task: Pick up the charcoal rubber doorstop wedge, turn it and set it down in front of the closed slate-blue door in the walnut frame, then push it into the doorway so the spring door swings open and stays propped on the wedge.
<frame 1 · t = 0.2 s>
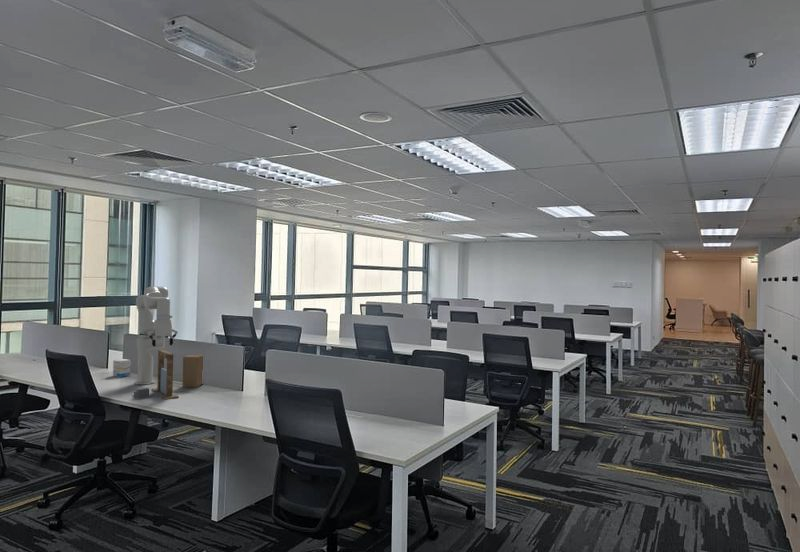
hand: (162, 345, 330), 30 cm above the table, tool pointing down, fingers open, 9 cm apart
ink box: (121, 376, 389), on the table
door frame: (164, 393, 334), on the table
door leaf: (166, 381, 334), point 8 cm above the table, hinge at 0.0°
wooden block: (193, 386, 360), on the table
wedge: (141, 396, 327), on the table
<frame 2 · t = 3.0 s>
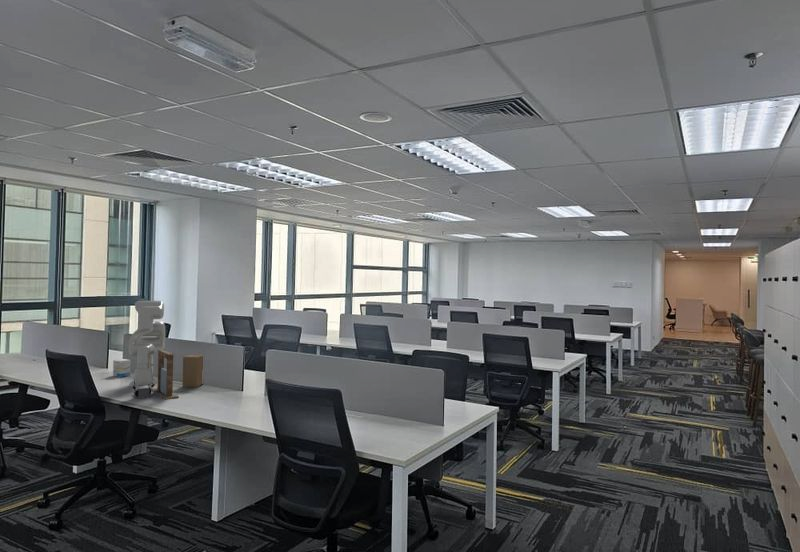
hand: (143, 395, 323), 1 cm above the table, tool pointing down, fingers closed on wedge, 6 cm apart
wedge: (141, 396, 327), on the table, touching gripper
everything else where it was.
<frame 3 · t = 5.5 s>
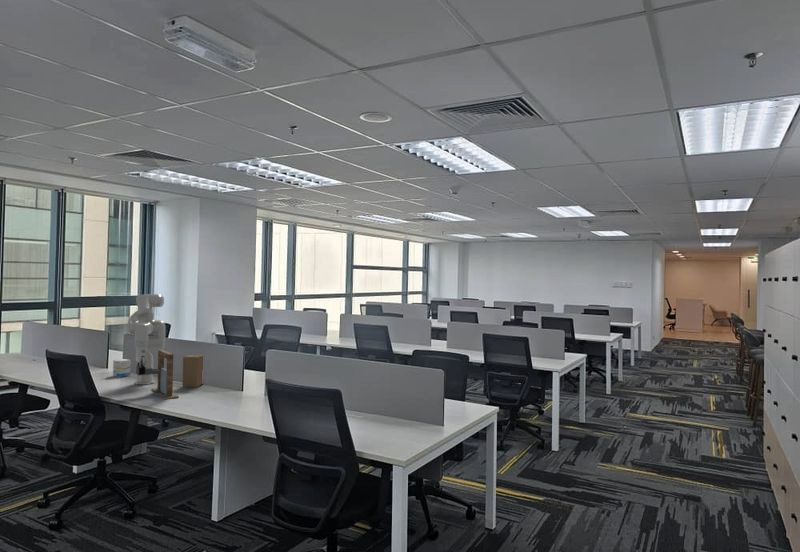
hand: (140, 372, 330), 13 cm above the table, tool pointing down, fingers closed on wedge, 6 cm apart
wedge: (147, 373, 332), point 13 cm above the table, touching gripper
everything else where it was.
when the fingers open (2 cm above the table, at t = 7.9 s): wedge drops 1 cm, on the table.
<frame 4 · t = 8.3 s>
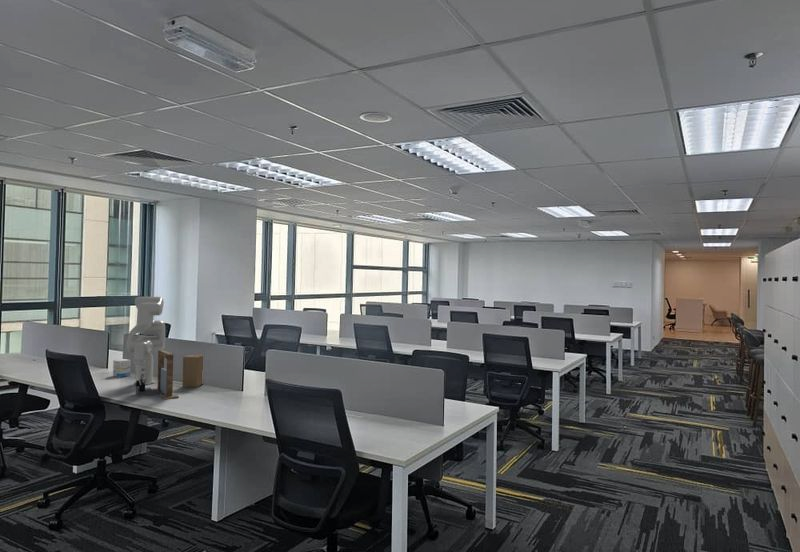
hand: (140, 390, 329), 3 cm above the table, tool pointing down, fingers open, 9 cm apart
wedge: (147, 394, 332), on the table
everything else where it was.
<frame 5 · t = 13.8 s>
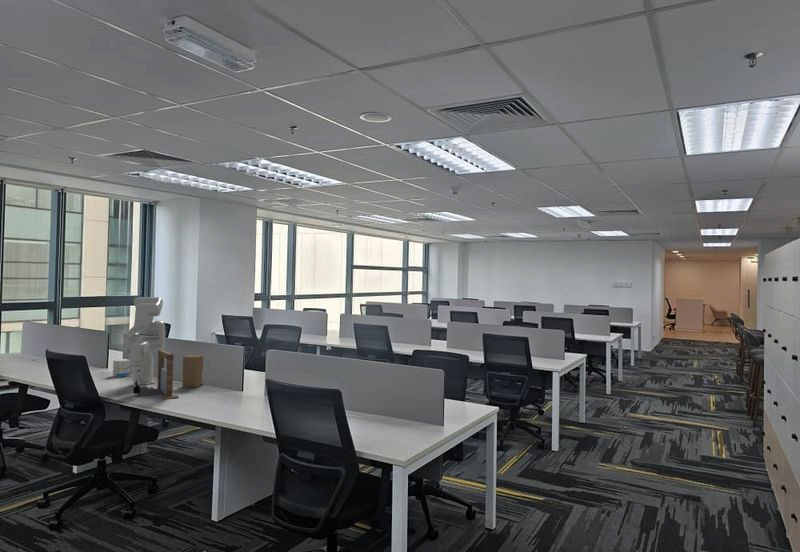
hand: (136, 393, 328), 1 cm above the table, tool pointing down, fingers closed
wedge: (149, 393, 333), on the table, touching gripper
everything else where it was.
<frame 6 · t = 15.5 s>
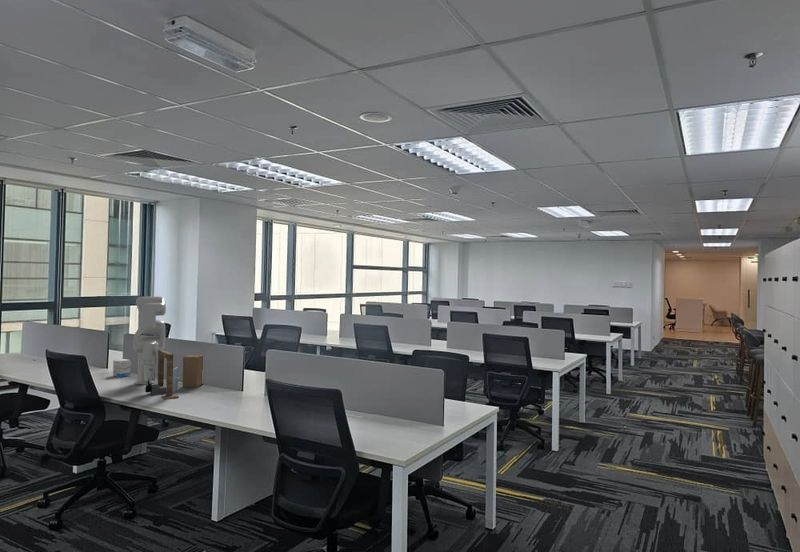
hand: (148, 392, 332), 1 cm above the table, tool pointing down, fingers closed
door leaf: (173, 381, 335), point 8 cm above the table, hinge at 31.6°, touching wedge
wedge: (161, 392, 337), on the table, touching door leaf, gripper
everything else where it was.
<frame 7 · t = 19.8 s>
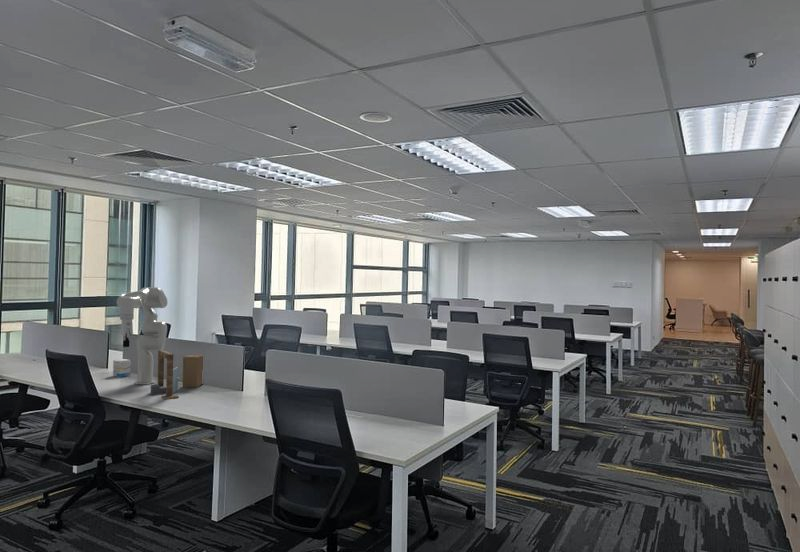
hand: (126, 346, 331), 29 cm above the table, tool pointing down, fingers closed
wedge: (161, 392, 337), on the table, touching door leaf
everything else where it was.
at the end: door leaf at +32° (first picture: +0°); wedge inside the target area (0.3 cm from its centre), on the table; wedge touching door leaf, table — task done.
